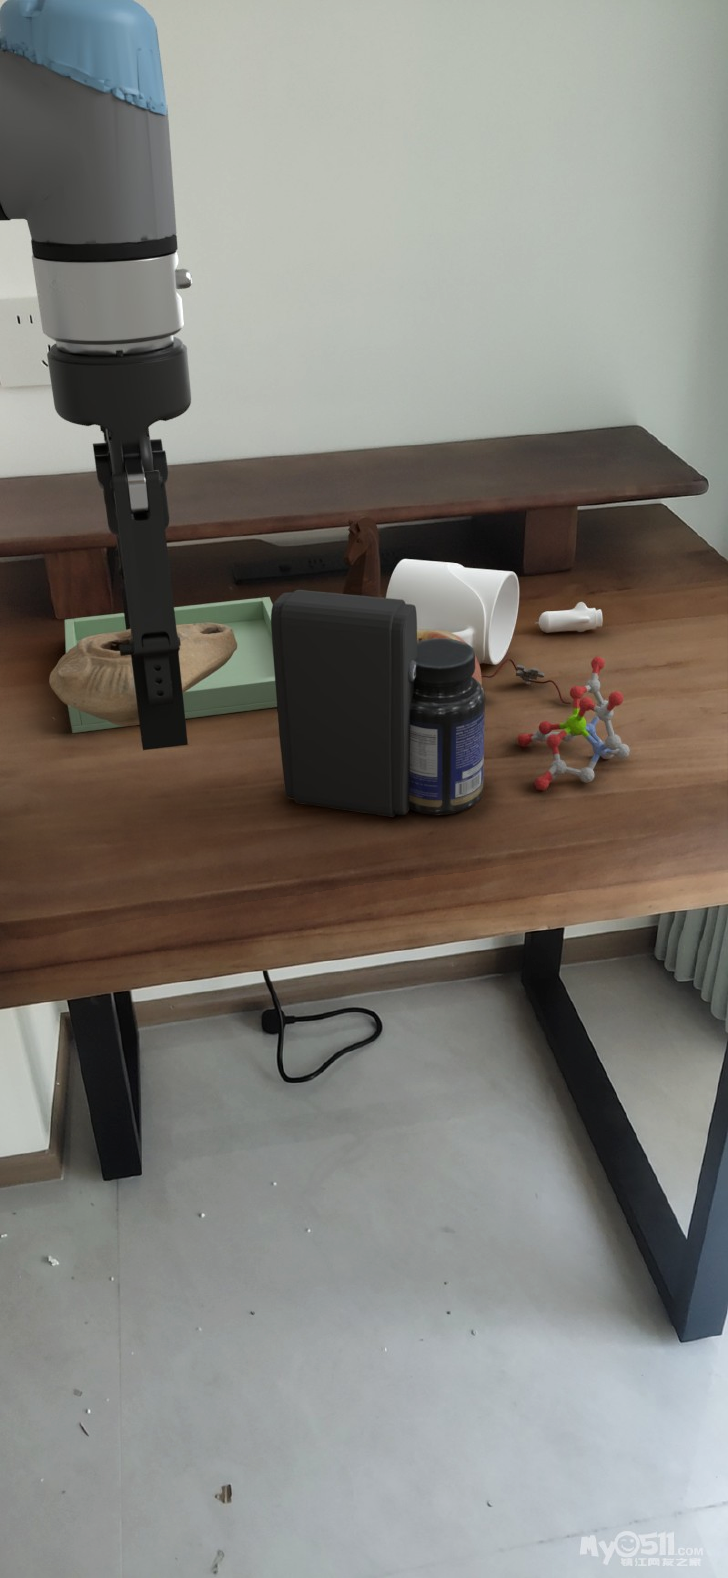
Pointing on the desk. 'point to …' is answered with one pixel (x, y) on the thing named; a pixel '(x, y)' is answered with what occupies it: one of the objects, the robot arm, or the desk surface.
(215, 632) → the pottery oil lamp
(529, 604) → the desk surface
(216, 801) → the desk surface
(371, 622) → the dark grey rectangular block
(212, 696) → the tray
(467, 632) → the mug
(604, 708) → the molecular model
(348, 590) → the chess piece
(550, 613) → the small white plastic part
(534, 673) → the pendant
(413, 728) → the pill bottle
